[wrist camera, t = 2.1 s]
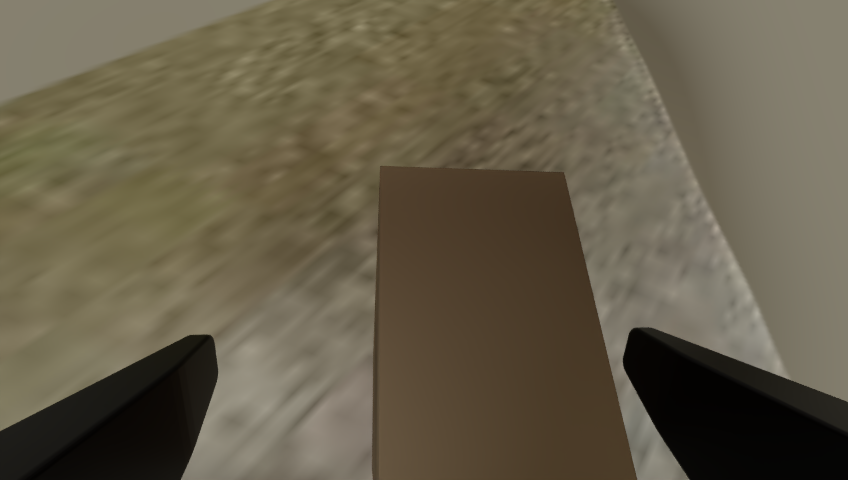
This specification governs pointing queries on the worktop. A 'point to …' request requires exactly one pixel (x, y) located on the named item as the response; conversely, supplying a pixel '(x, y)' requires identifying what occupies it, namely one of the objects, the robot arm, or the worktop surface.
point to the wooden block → (488, 334)
